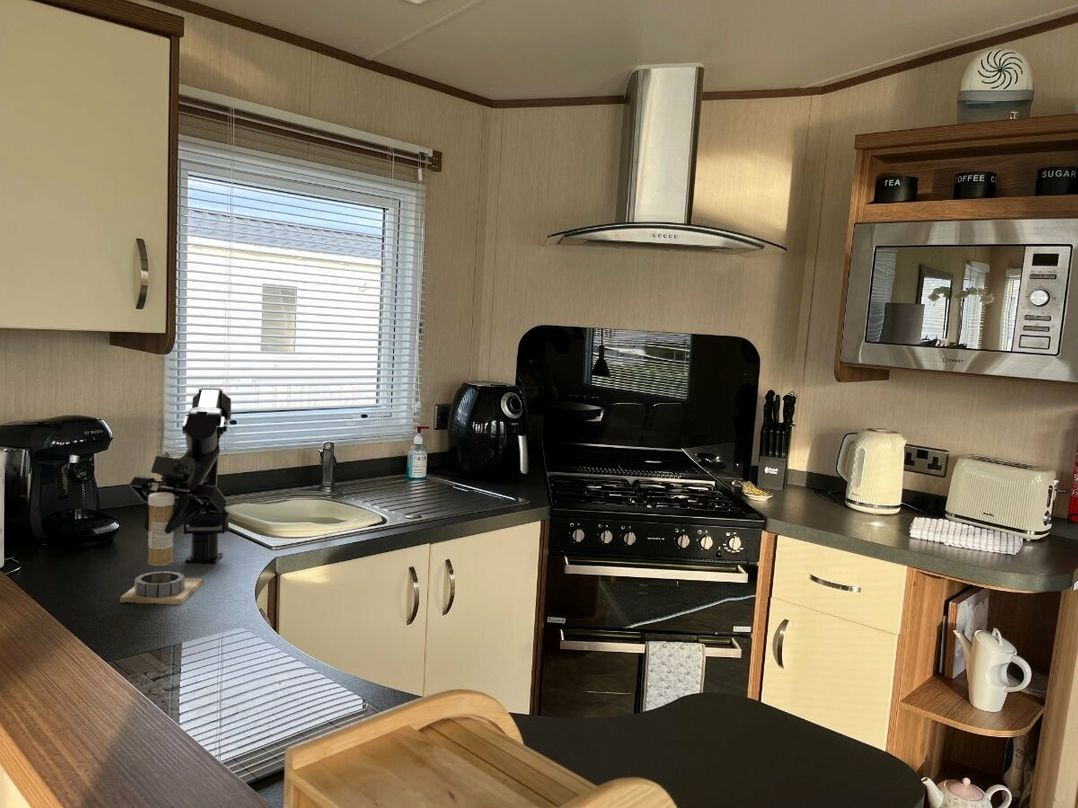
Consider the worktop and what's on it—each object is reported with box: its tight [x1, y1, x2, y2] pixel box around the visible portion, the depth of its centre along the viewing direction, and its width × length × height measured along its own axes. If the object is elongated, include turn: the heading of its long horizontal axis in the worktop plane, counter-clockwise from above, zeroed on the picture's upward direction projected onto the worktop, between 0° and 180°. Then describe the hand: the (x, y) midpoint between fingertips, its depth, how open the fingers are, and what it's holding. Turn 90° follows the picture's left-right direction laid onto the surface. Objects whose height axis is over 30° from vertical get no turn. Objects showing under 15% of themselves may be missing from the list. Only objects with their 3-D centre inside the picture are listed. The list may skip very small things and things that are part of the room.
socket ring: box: [134, 570, 186, 598], centre depth 163 cm, size 8×8×2 cm
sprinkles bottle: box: [147, 492, 176, 567], centre depth 162 cm, size 5×5×13 cm
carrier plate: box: [119, 577, 204, 605], centre depth 165 cm, size 13×11×2 cm
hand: (156, 531), depth 160 cm, fingers closed on sprinkles bottle, 4 cm apart
